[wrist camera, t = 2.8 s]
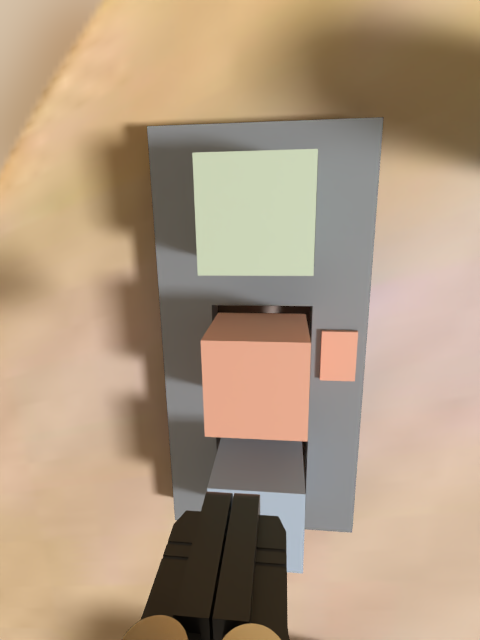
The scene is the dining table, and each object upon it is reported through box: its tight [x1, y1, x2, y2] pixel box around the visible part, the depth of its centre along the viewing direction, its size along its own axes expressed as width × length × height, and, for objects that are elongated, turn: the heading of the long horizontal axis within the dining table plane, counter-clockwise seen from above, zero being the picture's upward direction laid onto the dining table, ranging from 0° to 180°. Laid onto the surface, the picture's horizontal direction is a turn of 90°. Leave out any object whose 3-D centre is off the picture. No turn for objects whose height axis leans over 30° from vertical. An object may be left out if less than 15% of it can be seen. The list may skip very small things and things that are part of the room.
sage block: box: [192, 149, 318, 276], centre depth 19 cm, size 5×5×5 cm
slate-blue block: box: [207, 438, 306, 573], centre depth 23 cm, size 5×5×5 cm
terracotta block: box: [201, 313, 311, 442], centre depth 21 cm, size 5×5×5 cm
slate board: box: [147, 117, 383, 532], centre depth 24 cm, size 25×12×2 cm, turn 1°
